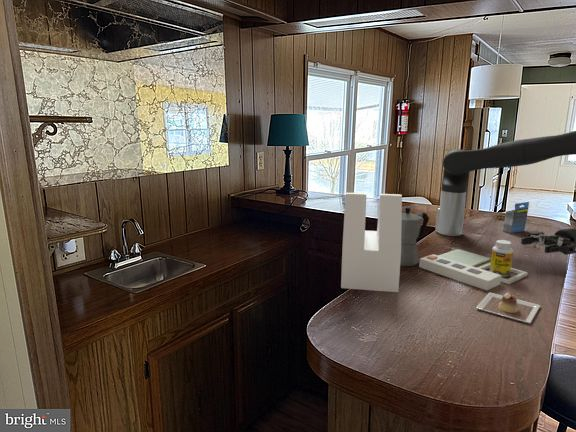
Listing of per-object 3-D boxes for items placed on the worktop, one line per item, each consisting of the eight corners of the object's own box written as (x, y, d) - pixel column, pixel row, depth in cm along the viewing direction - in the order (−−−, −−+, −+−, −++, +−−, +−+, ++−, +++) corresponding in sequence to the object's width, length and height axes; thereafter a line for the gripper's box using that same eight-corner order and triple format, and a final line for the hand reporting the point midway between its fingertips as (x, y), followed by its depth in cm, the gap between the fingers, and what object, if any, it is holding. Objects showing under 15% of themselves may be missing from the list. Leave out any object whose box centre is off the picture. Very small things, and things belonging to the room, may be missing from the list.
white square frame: (472, 272, 126) (472, 268, 126) (491, 264, 132) (491, 261, 132) (508, 284, 117) (509, 280, 117) (527, 275, 124) (527, 271, 123)
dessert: (540, 309, 104) (542, 291, 103) (529, 327, 95) (532, 308, 94) (488, 295, 111) (491, 279, 110) (475, 311, 103) (477, 293, 101)
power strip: (419, 267, 130) (419, 257, 130) (437, 260, 136) (438, 251, 135) (487, 290, 113) (488, 279, 112) (504, 282, 119) (506, 271, 118)
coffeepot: (397, 269, 129) (401, 212, 124) (378, 259, 137) (381, 206, 132) (435, 261, 135) (440, 207, 130) (415, 253, 143) (419, 202, 139)
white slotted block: (398, 292, 112) (404, 202, 106) (341, 288, 115) (344, 200, 109) (393, 267, 131) (399, 188, 124) (344, 264, 133) (347, 187, 127)
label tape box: (516, 228, 174) (520, 199, 171) (525, 230, 170) (529, 201, 167) (502, 231, 170) (506, 201, 167) (511, 233, 166) (515, 203, 163)
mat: (437, 257, 139) (437, 255, 139) (457, 250, 146) (457, 248, 146) (470, 267, 130) (470, 266, 130) (490, 259, 137) (490, 258, 137)
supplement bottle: (490, 276, 123) (494, 243, 120) (487, 269, 128) (491, 238, 126) (511, 278, 121) (516, 245, 119) (507, 271, 127) (512, 239, 124)
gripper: (556, 223, 136) (516, 227, 131) (598, 234, 123) (556, 239, 118) (552, 244, 138) (513, 249, 133) (594, 258, 125) (552, 264, 120)
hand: (533, 245), depth 126 cm, fingers open, 8 cm apart
